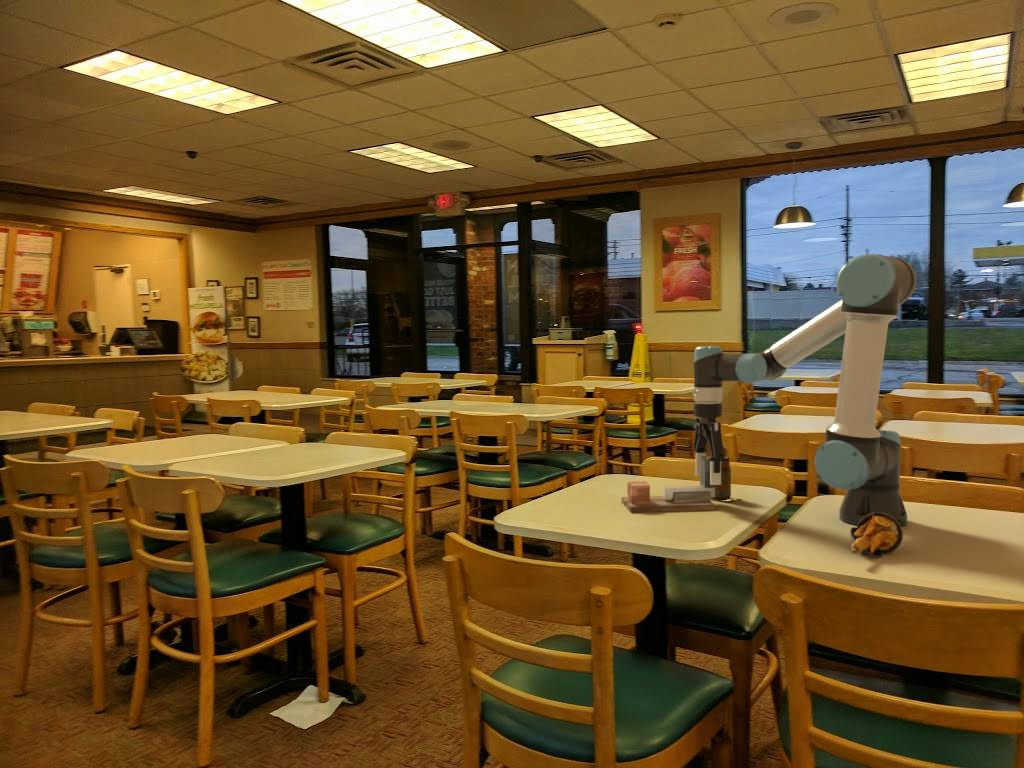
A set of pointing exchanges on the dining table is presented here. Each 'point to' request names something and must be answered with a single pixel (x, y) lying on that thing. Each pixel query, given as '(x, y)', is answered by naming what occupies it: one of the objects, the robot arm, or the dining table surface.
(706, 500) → the rail slide board
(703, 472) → the mallet
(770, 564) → the dining table surface
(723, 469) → the condiment
